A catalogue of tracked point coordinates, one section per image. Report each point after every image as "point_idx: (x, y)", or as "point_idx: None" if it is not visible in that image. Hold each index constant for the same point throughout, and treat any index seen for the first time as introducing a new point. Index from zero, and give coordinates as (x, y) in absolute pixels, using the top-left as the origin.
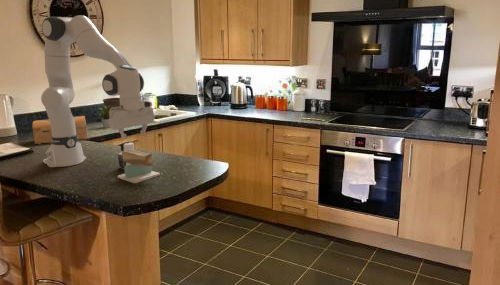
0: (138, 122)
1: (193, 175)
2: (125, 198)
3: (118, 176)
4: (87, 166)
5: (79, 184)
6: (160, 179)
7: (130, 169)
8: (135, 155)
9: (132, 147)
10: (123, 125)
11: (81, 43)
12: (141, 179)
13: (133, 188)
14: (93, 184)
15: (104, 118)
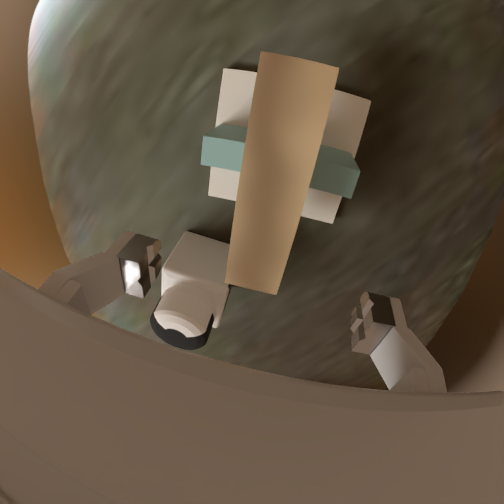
0: (143, 387)
1: None
2: (497, 52)
3: (334, 217)
4: (264, 358)
5: (415, 287)
6: (274, 26)
7: (342, 160)
8: (313, 165)
9: (173, 300)
10: (450, 426)
11: None
12: (335, 89)
13: (420, 71)
14: (413, 251)
15: None
